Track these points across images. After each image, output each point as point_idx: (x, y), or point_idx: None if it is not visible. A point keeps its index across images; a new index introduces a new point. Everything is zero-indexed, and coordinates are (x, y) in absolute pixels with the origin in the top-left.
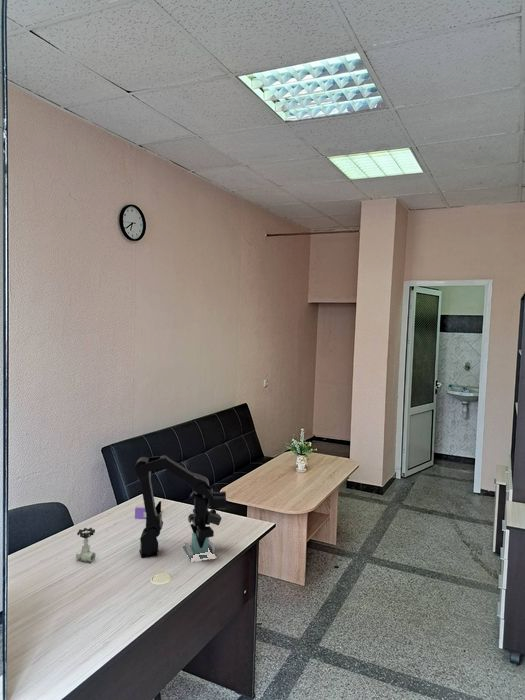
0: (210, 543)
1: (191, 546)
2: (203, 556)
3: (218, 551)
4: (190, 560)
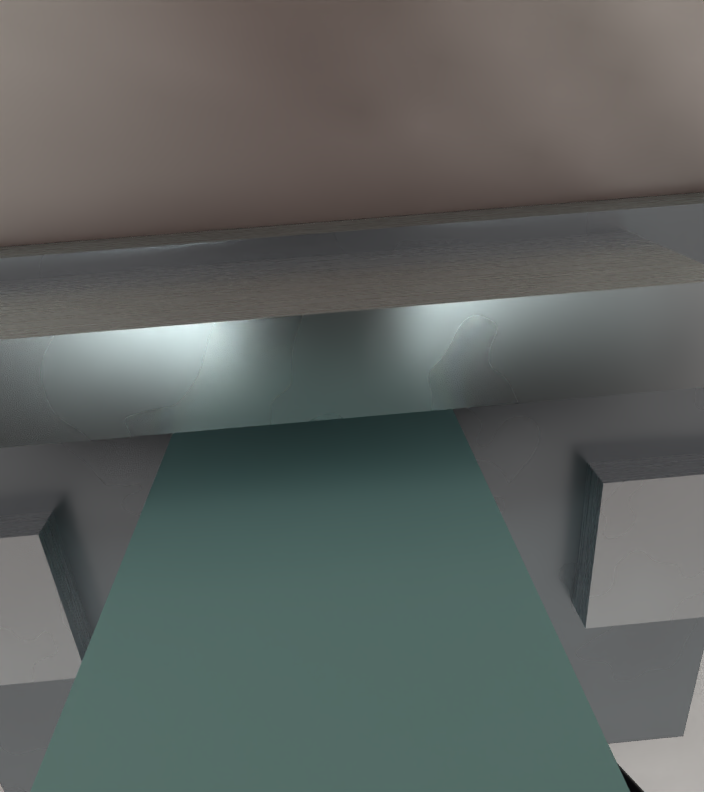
0: (247, 371)
1: (45, 684)
2: (674, 552)
3: (329, 34)
4: (640, 737)
